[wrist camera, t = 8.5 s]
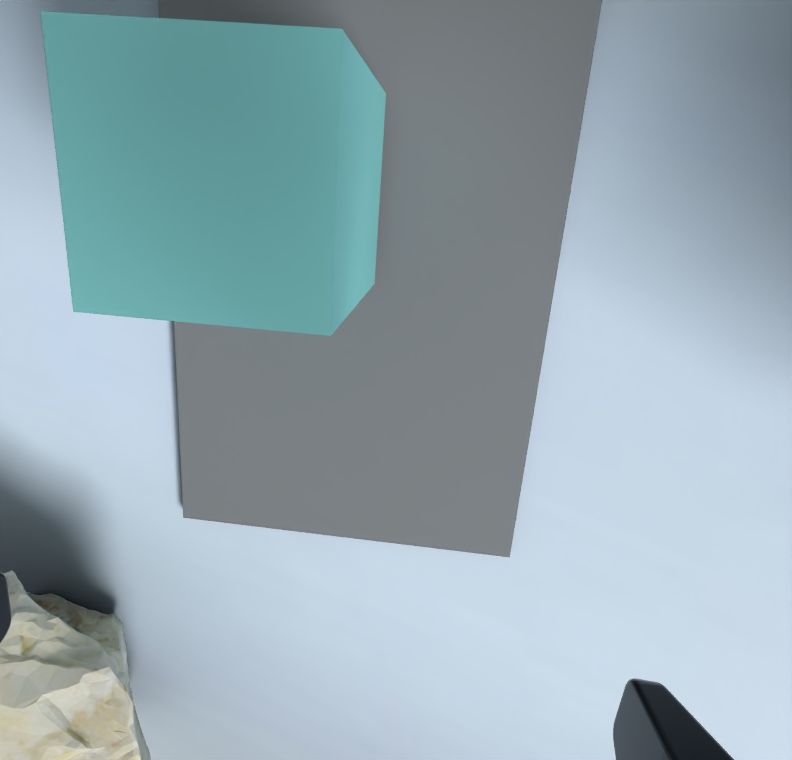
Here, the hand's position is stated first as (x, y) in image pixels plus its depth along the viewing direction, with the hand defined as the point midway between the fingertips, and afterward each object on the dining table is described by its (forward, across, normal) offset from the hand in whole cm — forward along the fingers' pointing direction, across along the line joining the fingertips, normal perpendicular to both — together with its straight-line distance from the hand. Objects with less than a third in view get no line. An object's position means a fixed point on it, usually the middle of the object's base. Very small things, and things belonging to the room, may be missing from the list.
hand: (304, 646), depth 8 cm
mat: (+12, +2, -6) cm, 13 cm away
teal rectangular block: (+11, +4, -6) cm, 13 cm away
